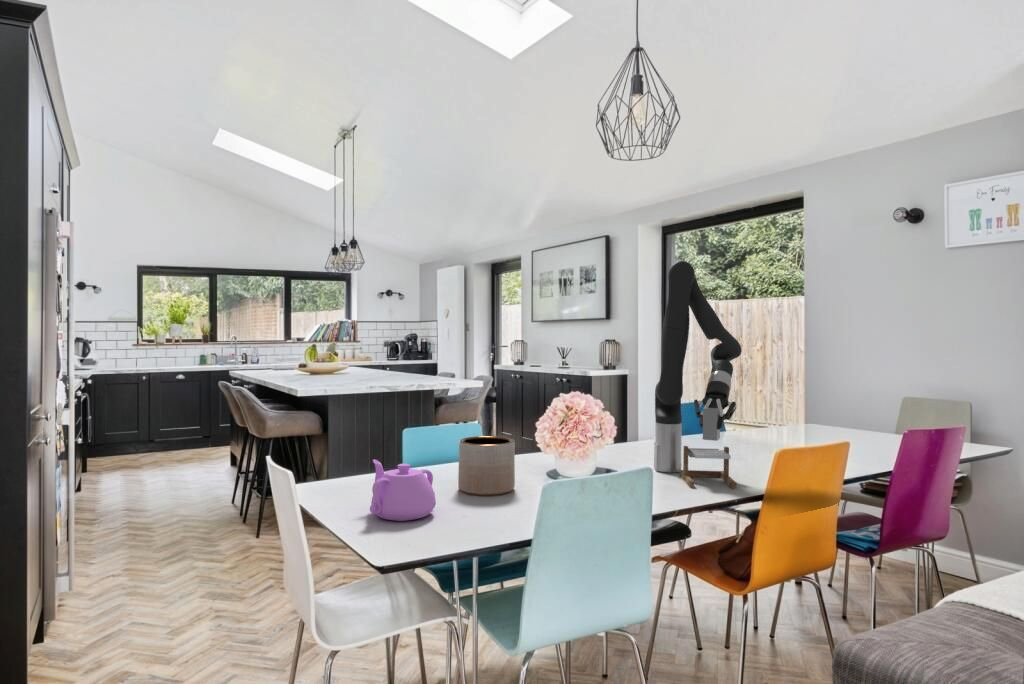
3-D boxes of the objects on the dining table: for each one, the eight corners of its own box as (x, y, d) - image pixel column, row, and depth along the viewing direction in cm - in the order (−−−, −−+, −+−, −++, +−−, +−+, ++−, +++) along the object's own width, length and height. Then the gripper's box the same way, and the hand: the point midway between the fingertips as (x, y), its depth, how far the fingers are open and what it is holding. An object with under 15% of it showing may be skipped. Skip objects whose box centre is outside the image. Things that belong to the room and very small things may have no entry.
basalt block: (702, 439, 215) (702, 408, 214) (705, 437, 219) (706, 407, 218) (716, 440, 212) (717, 409, 212) (719, 438, 216) (720, 408, 216)
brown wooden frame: (680, 475, 230) (680, 442, 230) (722, 476, 229) (723, 443, 229) (690, 487, 213) (690, 452, 212) (736, 489, 211) (736, 453, 211)
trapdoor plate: (686, 455, 228) (686, 446, 228) (719, 455, 227) (719, 447, 227) (695, 464, 213) (695, 455, 213) (730, 464, 212) (730, 455, 212)
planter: (512, 497, 199) (513, 445, 199) (454, 496, 200) (454, 444, 200) (516, 484, 217) (516, 436, 216) (462, 482, 218) (462, 435, 218)
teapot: (402, 499, 196) (402, 452, 196) (454, 512, 182) (455, 462, 182) (340, 515, 179) (340, 464, 179) (393, 530, 165) (393, 475, 165)
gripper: (695, 378, 225) (685, 418, 215) (739, 380, 218) (731, 421, 208) (699, 393, 230) (689, 432, 220) (742, 395, 223) (734, 436, 213)
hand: (710, 427), depth 214 cm, fingers closed on basalt block, 4 cm apart
